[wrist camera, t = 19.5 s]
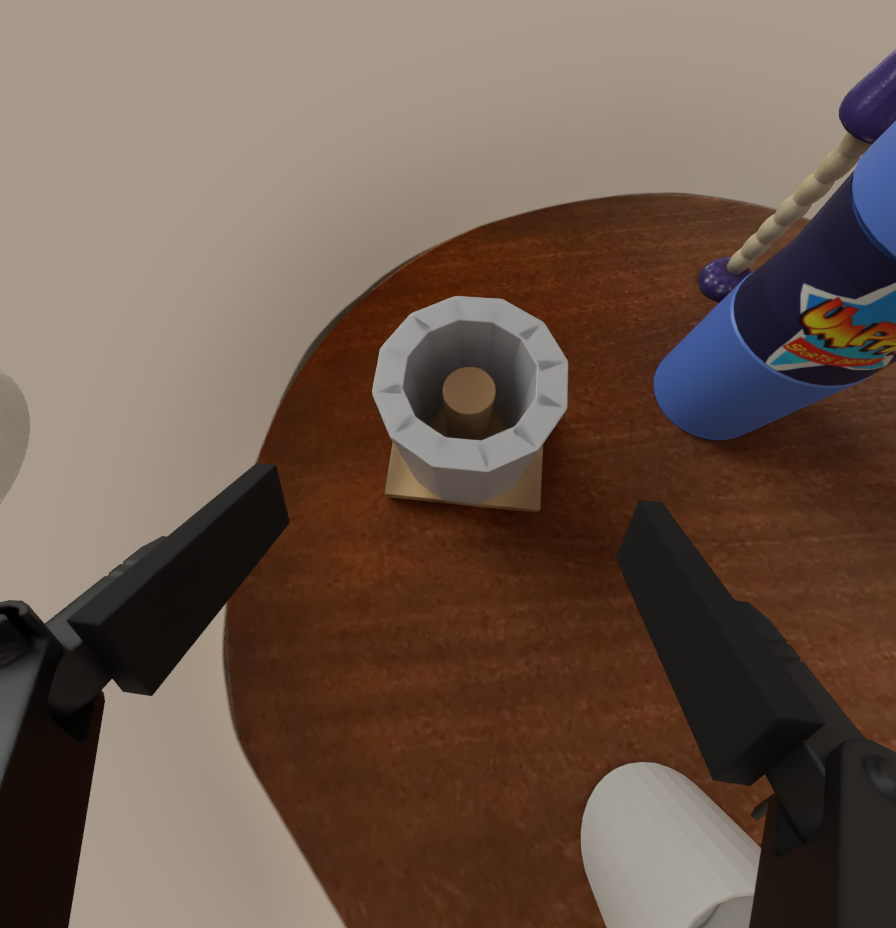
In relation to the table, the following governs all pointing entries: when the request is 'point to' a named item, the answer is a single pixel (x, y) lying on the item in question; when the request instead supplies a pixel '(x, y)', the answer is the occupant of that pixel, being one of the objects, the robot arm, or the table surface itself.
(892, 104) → the toy lamp
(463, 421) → the stand
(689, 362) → the water bottle
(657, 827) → the mug
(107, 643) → the robot arm
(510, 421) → the silver tape
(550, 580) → the table surface
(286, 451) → the table surface
